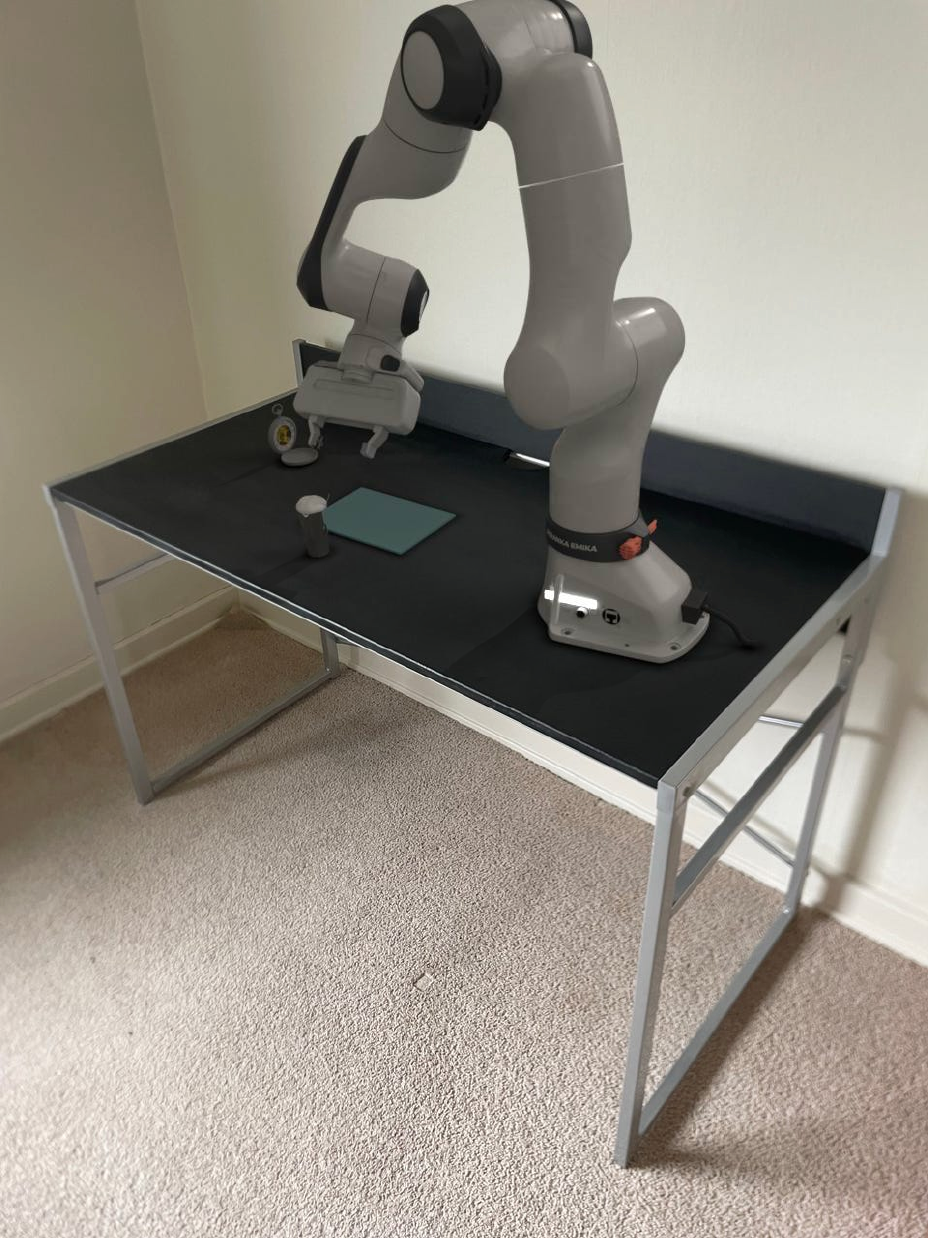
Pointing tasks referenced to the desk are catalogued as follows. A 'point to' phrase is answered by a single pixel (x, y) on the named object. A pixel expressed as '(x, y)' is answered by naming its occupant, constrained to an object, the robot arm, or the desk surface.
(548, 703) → the desk surface
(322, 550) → the milkshake
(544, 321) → the robot arm
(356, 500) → the mouse pad
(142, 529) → the desk surface
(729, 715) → the desk surface
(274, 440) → the pocket watch
